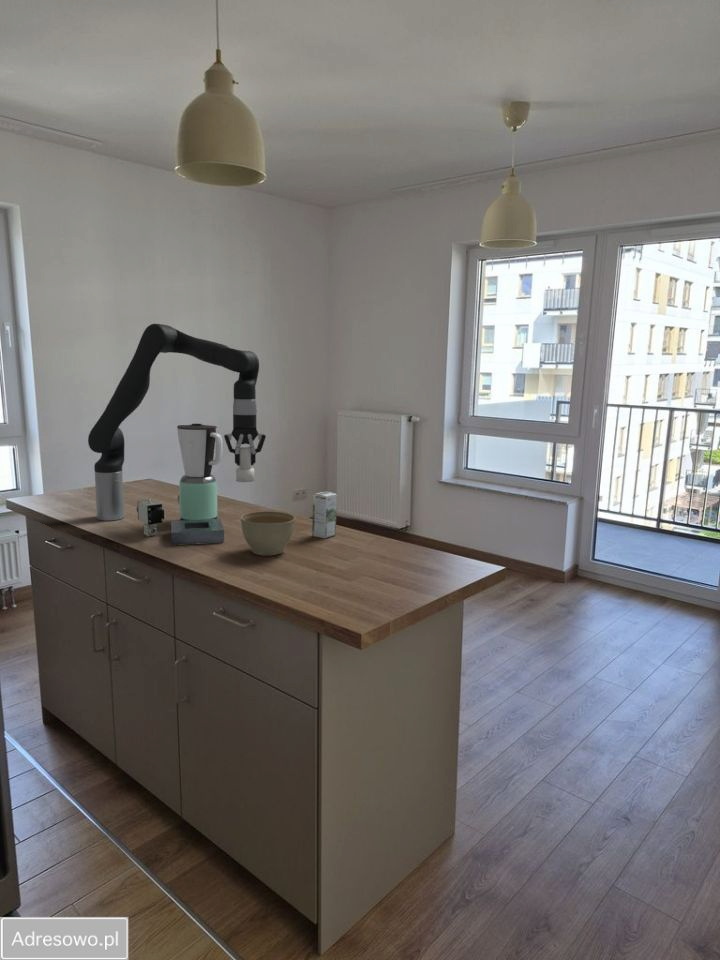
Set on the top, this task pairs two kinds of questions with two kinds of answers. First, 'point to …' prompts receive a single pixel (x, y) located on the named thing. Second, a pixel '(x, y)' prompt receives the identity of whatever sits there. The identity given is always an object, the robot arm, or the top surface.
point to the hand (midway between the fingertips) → (245, 464)
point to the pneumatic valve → (150, 515)
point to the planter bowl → (267, 531)
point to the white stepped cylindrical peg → (245, 466)
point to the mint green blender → (198, 471)
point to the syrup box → (324, 514)
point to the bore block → (197, 531)
